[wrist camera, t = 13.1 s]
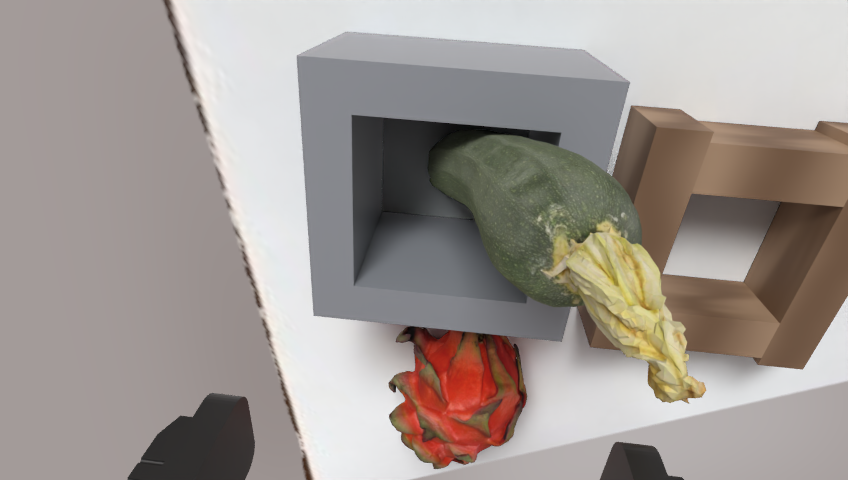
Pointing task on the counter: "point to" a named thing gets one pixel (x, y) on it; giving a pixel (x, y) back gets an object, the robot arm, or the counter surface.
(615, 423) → the counter surface
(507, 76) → the holder
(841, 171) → the board
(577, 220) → the vegetable
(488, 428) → the dragon fruit
